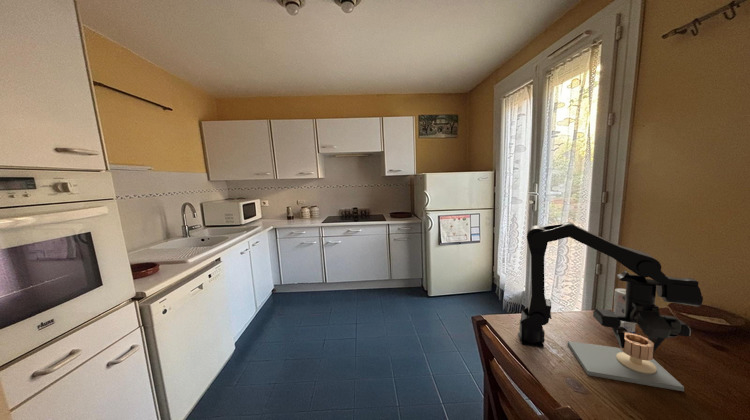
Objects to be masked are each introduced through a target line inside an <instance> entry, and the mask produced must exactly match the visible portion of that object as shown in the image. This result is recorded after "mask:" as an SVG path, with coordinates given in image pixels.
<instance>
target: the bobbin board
mask: <svg viewBox="0 0 750 420" xmlns="http://www.w3.org/2000/svg"><path fill="white" fill-rule="evenodd" d="M632 342H634V341H632ZM635 343H638V342H635ZM638 344H640V343H638ZM567 346H568V347H569V349H570V350H571V352H572V354H573V355H574V356H575V359H577V361H578V362H579V364H580V366H581V367H582V369H583V370H584V372H585V373H586V374H587V376H591V377H596V378H603V379H609V380H615V381H619V382H620V381H621V382H626V383H633V384H638V385H642V386H643V385H645V386H650V387H655V388H660V389H668V390H673V391H678V392H679V391H680V392H685V386H684V385H682V383H681V382H680V381H679V380H677V379H676V378H675V377H674V376H673V375H672V374H671V373H670V372H668V371H667V370H666V369H665V368H664V367H663V366H662V365H661V364H660V363H658V361H656V360H655V359H654V358H653V359H652V360H649V361H648V360H647V361H646V360H640V359H637V358H634V357H631V356H629V355H627V354H625V353H624V352H623V351H622V350H621V349H620V347H614V346H609V345H600V344H593V343H586V342H578V341H571V340H567Z"/></svg>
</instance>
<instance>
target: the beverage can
mask: <svg viewBox="0 0 750 420" xmlns="http://www.w3.org/2000/svg"><path fill="white" fill-rule="evenodd" d="M613 296H614V297H613V298H614V299H613V311H612V312H613V313H614V314H615V315H621V316H624V314H623V313H622V309H625V300H623V296H626V288H614V295H613ZM624 328H625V329H626V330H627V332H625V333H633V334H636V324H629V323H624Z"/></svg>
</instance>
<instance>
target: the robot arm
mask: <svg viewBox="0 0 750 420" xmlns="http://www.w3.org/2000/svg"><path fill="white" fill-rule="evenodd" d="M566 238H567V239H568V238H571V239H572V240H574V241H576V242H578V243H582V244H583V245H586V246H587V247H589V248H592V249H593V250H596V251H597V252H600V253H601V254H603V255H606V256H608V257H610V258H612V259H613V260H615V261H616V262H618V263H620V264H621V265H622V266H624V268H627V270H629V271H631V272H632V273H634V274H632V273H629V272H628V271H627V270H624V271H623V272H621V273H619V274H616V277H617V279H619V281H620V282H626V283H625V289H626V296H623V300H625V309H622V313H623V314H624V316H621V315H615V314H614V313H613V312H614V311H612V310H611V309H603V308H595V309H594V310H593V311H592V312H593V314H592V317H593V318H594V319H595V320H596V321H597V322H598V323H599V324H600V325H601V326H602V327H606V328H611V329H612V331H613V333H614V336H615V338H616V340H617V342H618V345H619V348H620V347H621V348H624V345H625V332H627V330H626V329H625V328H624V323H629V324H635V325H637V326H638V327H639V328H640V329H641V332H642V333H643V334H644V335H645V336H647V337H648V338H647V339H649V340H650V341H652V342H653V343H654V348H653V354H654V353H655V352H656V350H657V349H658V348H659V346H661V345H662V343H663V342H664V340H666V339H671V338H677V337H678V336H680V337H681V336H682V337H690V336H691V334H692V333H691V332H692V329H691V328H690V326H689V324H687V323H685V322H684V321H683V320H680V319H679V318H678V317H675V316H673V315H662V314H660V309H659V307H660V306H658V305H656V295H657V296H658V298H661V299H662V300H663V302H666V303H672V304H678V305H686V306H693V307H701V306H702V304H703V301H704V297H703V295H702V292H701V288H700V286H699V281H697V280H696V279H695V278H683V277H682V278H681V277H673V276H667V275H666V274H665V273H664V272H663V271H662V265H661V262H659V261H660V260H658V259H656V258H655V257H653V256H652V255H650V254H649V253H648V252H644V251H642V250H639V249H634V248H631V247H627V246H623V245H619V244H617V243H614V242H612V241H610V240H608V239H605V238H604V237H601V236H599V235H597V234H595V233H593V232H590V231H588V230H586V229H584V228H582V227H579V226H577V225H576V224H574V223H572V222H570V221H569V222H564V223H560V224H559V223H558V224H552V225H546V226H542V225H532V226H530V227H529V229H527V234H526V241H527V244H528V248H529V253H530V256H531V258H530V259H531V263H530V264H531V265H530V266H531V271H530V272H531V273H530V274H531V293H530V296H529V302H528V305H527V307H525V308H524V309H521V314H520V319H519V332H517V334H518V338H519V340H520V343H521V344H522V345H523V346H530V347H531V346H532V347H537V348H545V345H544V343H545V330H544V327H543V326H545V325H548V324H549V321H550V320H552V319H553V318H552V301H551V299H550V298H546V296H545V256H546V252H547V251H546V250H547V248H548V243H550V242H556V241H558V240H562V239H566ZM649 278H650V279H649Z"/></svg>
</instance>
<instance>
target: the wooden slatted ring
mask: <svg viewBox="0 0 750 420" xmlns="http://www.w3.org/2000/svg"><path fill="white" fill-rule="evenodd" d="M632 341H634V342H632ZM635 342H638V343H640V344H638V343H635ZM619 348H620V349H621V350H622V351H623V352H624V353H625V354H627V355H629V356H631V357H634V358H637V359H640V360H646V361H647V360H648V361H649V360H652V359H654V358H653V357H654V353H653V348H654V343H653V342H652V341H650V340H649V339H648V338H647V337H645V336H643V335H640V334H637V333H635V334H633V333H625V345H624V348H621V347H620V346H619Z"/></svg>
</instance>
